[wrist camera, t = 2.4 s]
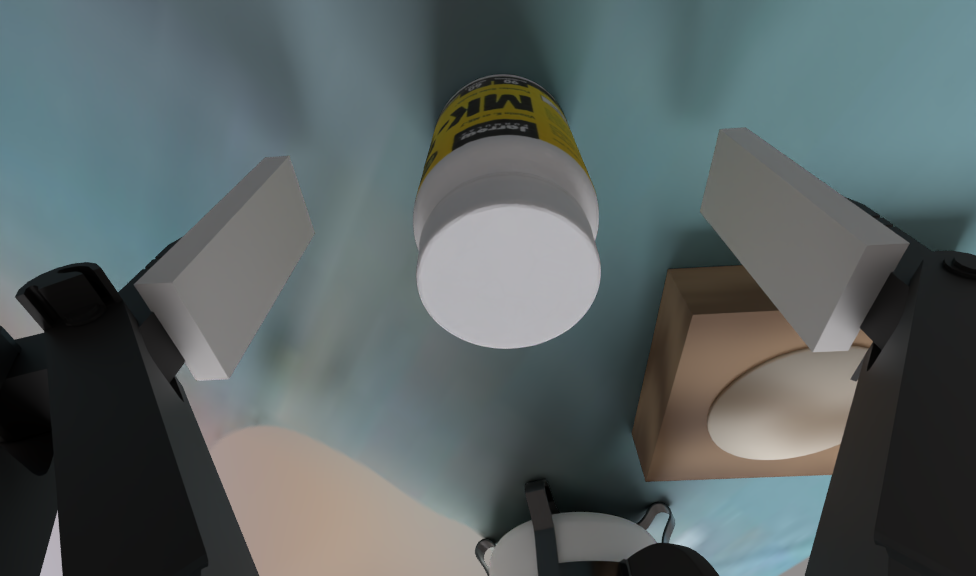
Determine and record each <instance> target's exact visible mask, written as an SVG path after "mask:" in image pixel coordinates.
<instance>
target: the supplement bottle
mask: <svg viewBox="0 0 976 576" xmlns="http://www.w3.org/2000/svg"><path fill="white" fill-rule="evenodd" d="M598 226H599V208H598V201H597V196H596V192H595V189H594V186H593V184H592V181H591V179H590V177H589V174H588V172H587V169H586V167H585V165H584V162H583V160H582V157H581V155H580V152H579V150H578V148H577V145H576V143H575V140H574V138H573V135H572V133H571V130H570V128H569V125H568V123H567V120H566V118H565V116H564V113H563V111H562V110H561V108H560V106H559V105H558V103H557V102H556V100H555V99H554V98H553V97H552V96H551V95H550V94H549V92H547V91H546V90H545V89H544V88H543V87H541V86H540V85H538V84H536V83H535V82H533V81H531V80H528V79H526V78H523V77H520V76H515V75H509V74H497V75H490V76H486V77H482V78H479V79H477V80H475V81H472V82H471V83H469V84H467V85H466V86H464V87H463V88H461V89H460V90H459V91H458V92H457V93H456V94H455V95H454V96H453V97H452V98H451V99H450V100H449V101H448V103H447V104H446V105H445V107H444V109H443V110H442V112H441V114H440V116H439V119H438V121H437V124H436V127H435V131H434V134H433V138H432V142H431V145H430V149H429V153H428V156H427V159H426V163H425V166H424V171H423V175H422V178H421V182H420V185H419V189H418V192H417V196H416V200H415V205H414V212H413V229H414V237H415V241H416V244H417V248H418V250H419V254H418V262H417V270H416V280H417V288H418V292H419V295H420V298H421V301H422V303H423V305H424V306H425V308H426V310H427V311H428V313H429V314H430V315H431V317H432V318H433V319H434V320H435V321H436V322H437V323H438V324H439V325H440V326H441V327H443V328H444V329H445V330H447V331H448V332H450V333H451V334H453V335H454V336H456V337H458V338H460V339H462V340H465V341H467V342H470V343H473V344H476V345H480V346H484V347H490V348H500V349H511V348H522V347H528V346H533V345H537V344H540V343H543V342H546V341H548V340H550V339H553V338H555V337H557V336H559V335H561V334H562V333H564V332H566V331H567V330H569V329H570V328H571V327H572V326H574V325H575V324H576V323H577V322H578V321H579V320H580V319H581V318H582V317H583V316H584V315H585V314H586V312H587V311H588V309H589V308H590V306H591V305H592V303H593V301H594V299H595V297H596V294H597V292H598V289H599V285H600V279H601V265H600V258H599V253H598V250H597V247H596V243H595V239H596V236H597V232H598Z"/></svg>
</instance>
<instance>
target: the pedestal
mask: <svg viewBox="0 0 976 576" xmlns="http://www.w3.org/2000/svg"><path fill="white" fill-rule="evenodd" d="M872 342H873V341H872V340H871V339H870V338H869V337H868V336H867V335H866V334H865V333H864V332H863V331H862V330H861V329H860V331H859V333H858V335H857V336H856V338H855V340H854V342H853V343H852V345H851V347H850V349H849V350H848V351H832V352H812V351H811V350H810V348H809V347H808V346H807V345H806V344H805V342H804V341H803V340H802V339H801V337H800V336H799V335H798V334H797V332H796V331H795V330H794V329H793V327H792V326H791V325H790V324H789V322H788V321H787V320H786V319H785V317H784V316H783V315H782V314H781V312H780V311H779V310H778V309H777V307H776V306H775V305H774V304H773V302H772V301H771V300H770V299H769V297H768V296H767V295H766V294H765V292H764V291H763V290H762V289H761V287H760V286H759V285H758V284H757V282H756V281H755V280H754V279H753V277H752V276H751V275H750V274H749V272H748V271H747V270H746V269H745V267H744V266H743V265H737V266H718V267H699V268H680V269H668V271H667V276H666V280H665V285H664V289H663V294H662V299H661V303H660V308H659V312H658V317H657V321H656V326H655V330H654V335H653V339H652V344H651V348H650V353H649V358H648V362H647V367H646V371H645V376H644V380H643V385H642V389H641V394H640V398H639V403H638V407H637V412H636V416H635V421H634V426H633V430H632V437H633V440H634V443H635V447H636V450H637V454H638V457H639V460H640V464H641V467H642V471H643V474H644V477H645V481H646V482H650V481H677V480H704V479H730V478H757V477H784V476H811V475H832V474H833V470H834V466H835V463H836V459H837V455H838V452H839V448H840V444H841V441H842V437H843V433H844V430H845V426H846V422H847V419H848V415H849V411H850V408H851V404H852V400H853V397H854V393H855V389H856V386H857V382H858V380H857V381H856V382H855V381H853V380H850V379H851V377H852V375H853V374H854V372H855V370H856V369H857V367H858V365H859V364H860V362H861V361H862V359H863V357H864V356H865V354H866V352H867V351H868V349H869V347H870V346H871V344H872Z"/></svg>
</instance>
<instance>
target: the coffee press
mask: <svg viewBox="0 0 976 576" xmlns="http://www.w3.org/2000/svg"><path fill="white" fill-rule="evenodd" d="M525 495H526V499H527V503H528V507H529V511H530V515H531V519H532V520H530V521H528V522H525V523H523V524H521V525H519V526H517V527H515V528H514V529H512V530H511V531H509V532H508V533H507V534H506V535H504V536H503V537H502V538H501V539H500V541H499V542H498V543H497V545H495V544H494V543H493V542H492V541H491V540H489V539H482V540H481V541H480V542H478V544H477V546H476V549H475V554H476V557H477V558H478V560H479V561H480V563H481V564H482V566H483V567H484V569H485V571H486V573H487V575H488V576H719V575H718V573H717V572H716V571H715V569H714V568H713V567H712V565H711V564H710V563H709V562H708V561H707V560H706V559H705V558H704V557H703V556H701V555H700V554H699V553H697V552H696V551H694V550H692V549H690V548H688V547H685V546H681V545H676V544H670V543H669V540H670V537H671V534H672V532H673V529H674V526H675V519H674V517H673V515H672V512H671V510H670V508H669V507H668V506H667V505H666V504H665V503H662V502H656V503H653V504H652V505H651V506H650V507H649V508H648V510H647V512H646V514H645V515H644V517H643V518H642V519H641V520H640V521H639V522H638V523H637V524H636V523H634V522H632V521H629V520H627V519H624V518H621V517H617V516H613V515H608V514H602V513H594V512H568V513H560V512H559V510H558V508H557V506H556V504H555V501H554V498H553V495H552V492H551V489H550V486H549V484H548V481H547V480H546V479H542V480H538V481H534V482H530V483H526V484H525ZM660 512H665V513H668V514H669V519H668V521H667V524H666V526H665V529H664V532H663V536H662V543H657V542H656V541H655V539H654V538H653V537H652V536H651V535H650V534H649V533H648V532H647V531H646V529H647V528H648V527H649V525H650V524H651V522H652V520H653V519H654V517H655V516H656V514H658V513H660ZM490 547H494V550H493V552H492V555H491V558H490V567H489V568H488V566H487V565H486V563H485V561H484V554H485V551H486V550H487V549H488V548H490Z"/></svg>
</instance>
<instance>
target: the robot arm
mask: <svg viewBox="0 0 976 576" xmlns="http://www.w3.org/2000/svg"><path fill="white" fill-rule="evenodd" d="M700 212H701V214H702V215H703V216H704V217H705V219H706V220H707V221H708V222H709V224H710V225H711V226H712V227H713V229H714V230H715V231H716V232H717V234H718V235H719V236H720V237H721V239H722V240H723V241H724V242H725V244H726V245H727V246H728V247H729V249H730V250H731V251H732V252H733V254H734V255H735V256H736V257H737V259H738V260H739V261H740V262H741V264H742V265H743V266H744V267H745V269H746V270H747V271H748V272H749V274H750V275H751V276H752V277H753V279H754V280H755V281H756V282H757V284H758V285H759V286H760V287H761V289H762V290H763V291H764V292H765V294H766V295H767V296H768V297H769V299H770V300H771V301H772V302H773V304H774V305H775V306H776V307H777V309H778V310H779V311H780V312H781V314H782V315H783V316H784V317H785V319H786V320H787V321H788V322H789V324H790V325H791V326H792V327H793V329H794V330H795V331H796V332H797V334H798V335H799V336H800V337H801V339H802V340H803V341H804V342H805V344H806V345H807V346H808V347H809V348H810V350H811V351H812V352H832V351H848V350H849V349H850V347H851V345H852V343H853V342H854V340H855V338H856V336H857V335H858V333H859V331H860V329H861V330H862V331H863V332H864V333H865V334H866V335H867V336H868V337H869V338H870V339H871V340H872V341H873V342H872V344H871V346H870V347H869V349H868V351H867V352H866V354H865V356H864V357H863V359H862V361H861V362H860V364H859V365H858V367H857V369H856V370H855V372H854V374H853V375H852V377H851V379H850V380H853V381H855V382H856V381H857V380H858V382H857V386H856V389H855V393H854V397H853V400H852V404H851V408H850V411H849V415H848V419H847V422H846V426H845V430H844V433H843V437H842V441H841V444H840V448H839V452H838V455H837V459H836V463H835V466H834V470H833V474H832V477H831V481H830V485H829V488H828V492H827V496H826V499H825V503H824V507H823V510H822V514H821V518H820V521H819V525H818V529H817V532H816V536H815V540H814V543H813V547H812V551H811V554H810V558H809V562H808V565H807V569H806V573H805V576H976V255H972V254H968V253H962V252H956V251H935V252H932V251H931V250H929V249H928V248H926V247H925V246H923V245H922V244H920V243H919V242H917V241H916V240H915V239H913V238H912V237H910V236H909V235H907V234H906V233H904V232H903V231H901V230H900V229H899V228H897V227H893V224H891V223H890V222H888V221H887V220H885V219H884V218H880V215H878V214H877V213H875V212H874V211H872V210H871V209H870V208H868V207H867V206H865V205H863V204H861V203H858V202H856V201H853V200H851V199H849V198H846V197H844V196H842V195H841V194H839V193H838V192H836V191H835V190H834V189H832V188H831V187H829V186H828V185H827V184H825V183H824V182H822V181H821V180H819V179H818V178H817V177H815V176H814V175H812V174H811V173H810V172H808V171H807V170H805V169H804V168H802V167H801V166H800V165H798V164H797V163H795V162H794V161H793V160H791V159H790V158H788V157H787V156H785V155H784V154H783V153H781V152H780V151H778V150H777V149H775V148H774V147H773V146H771V145H770V144H768V143H767V142H766V141H764V140H763V139H761V138H760V137H758V136H757V135H756V134H754V133H753V132H751V131H750V130H749V129H747V128H746V127H745V128H729V129H720V130H719V134H718V138H717V142H716V147H715V151H714V155H713V159H712V163H711V167H710V172H709V176H708V180H707V184H706V188H705V192H704V196H703V201H702V205H701V209H700ZM314 234H315V232H314V229H313V226H312V223H311V220H310V217H309V214H308V211H307V208H306V205H305V202H304V199H303V196H302V192H301V189H300V186H299V183H298V180H297V177H296V174H295V171H294V168H293V165H292V162H291V159H290V156H279V157H265V158H264V159H263V160H262V161H261V162H260V163H259V164H258V165H257V166H256V167H255V168H254V169H253V170H252V171H250V172H249V173H248V174H247V175H246V176H245V177H244V178H243V179H242V180H241V181H240V182H239V183H238V184H237V185H236V186H235V187H234V188H233V189H232V190H231V191H230V192H229V193H228V194H227V195H226V196H225V197H224V198H223V199H222V200H221V201H219V202H218V203H217V204H216V205H215V206H214V207H213V208H212V209H211V210H210V211H209V212H208V213H207V214H206V215H205V216H204V217H203V218H202V219H201V220H200V221H199V222H198V223H197V224H196V225H195V226H194V227H193V228H192V229H191V230H190V231H188V232H187V233H186V234H185V235H184V236H183V237H181V238H180V239H178V240H176V241H175V242H173V243H171V244H169V245H168V246H167V247H166V248H165V249H163V250H162V251H161V252H160V253H159V254H158V255H157V256H156V257H155V258H156V259H154V260H152V261H151V262H150V263H149V264H148V265H147V266H146V267H145V269H142V270H141V271H140V272H139V273H138V274H137V275H136V276H135V277H134V278H133V279H132V280H131V281H130V282H129V283H128V284H127V285H126V286H124V287H123V288H122V289H121V290H120V291H119V292H117V291H116V289H115V288H114V286H113V285H112V283H111V282H110V280H109V279H108V277H107V276H106V275H105V273H104V272H103V270H102V269H101V267H99V266H98V265H97V264H96V263H89V262H84V263H75V264H70V265H67V266H63V267H59V268H56V269H54V270H51V271H49V272H46V273H44V274H41V275H39V276H38V277H36V278H34V279H32V280H31V281H29V282H27V283H26V284H25V285H24V286H23V287H22V288H20V289H19V290H18V292H17V294H16V296H15V298H16V299H17V300H18V301H19V302H20V303H21V305H22V306H23V307H24V308H25V309H26V310H27V311H28V313H29V314H30V315H31V316H32V317H33V318H34V320H35V321H36V322H37V323H38V324H39V325H40V327H41V328H42V329H43V330H44V333H41V334H37V335H33V336H29V337H25V338H20V339H16V340H14V339H13V338H12V337H11V336H10V335H9V334H8V333H7V331H6V330H5V329H4V328H3V327H2V326H0V576H40V573H41V568H42V565H43V562H44V558H45V554H46V550H47V547H48V543H49V539H50V536H51V532H52V528H53V525H54V521H55V518H56V514H57V510H58V518H59V532H60V545H61V558H62V571H63V576H259V574H258V571H257V569H256V567H255V564H254V562H253V559H252V557H251V554H250V552H249V549H248V547H247V544H246V542H245V540H244V537H243V534H242V532H241V530H240V527H239V525H238V522H237V520H236V517H235V515H234V512H233V510H232V507H231V505H230V502H229V500H228V497H227V495H226V493H225V490H224V488H223V485H222V483H221V480H220V478H219V475H218V473H217V470H216V468H215V465H214V463H213V461H212V458H211V455H210V453H209V451H208V448H207V446H206V443H205V441H204V438H203V436H202V433H201V431H200V428H199V426H198V423H197V421H196V418H195V416H194V414H193V411H192V409H191V406H190V404H189V401H188V399H187V396H186V394H185V391H184V389H183V386H182V385H181V383H180V382H179V381H178V379H177V378H176V376H175V375H176V374H177V372H178V371H179V369H180V368H181V367H182V365H183V364H184V362H185V364H186V365H187V367H188V369H189V370H190V372H191V373H192V375H193V376H194V378H195V379H196V381H200V380H222V379H229V378H230V377H231V375H232V373H233V372H234V370H235V368H236V366H237V365H238V363H239V361H240V360H241V358H242V356H243V355H244V353H245V351H246V350H247V348H248V346H249V344H250V343H251V341H252V339H253V338H254V336H255V334H256V333H257V331H258V329H259V327H260V326H261V324H262V322H263V321H264V319H265V317H266V316H267V314H268V312H269V310H270V309H271V307H272V305H273V304H274V302H275V300H276V299H277V297H278V295H279V294H280V292H281V290H282V288H283V287H284V285H285V283H286V282H287V280H288V278H289V277H290V275H291V273H292V271H293V270H294V268H295V266H296V265H297V263H298V261H299V260H300V258H301V256H302V255H303V253H304V251H305V249H306V248H307V246H308V244H309V243H310V241H311V239H312V238H313V236H314Z"/></svg>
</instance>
